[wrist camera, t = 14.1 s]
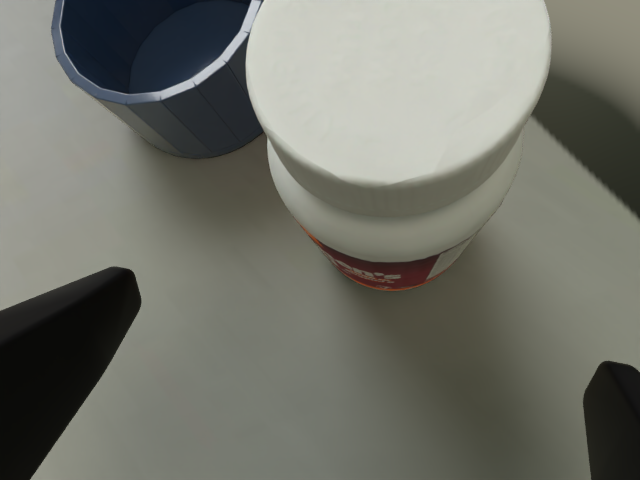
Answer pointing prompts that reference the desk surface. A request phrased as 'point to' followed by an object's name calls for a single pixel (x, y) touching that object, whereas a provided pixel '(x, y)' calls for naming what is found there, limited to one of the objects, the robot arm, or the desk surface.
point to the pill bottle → (395, 122)
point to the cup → (164, 68)
